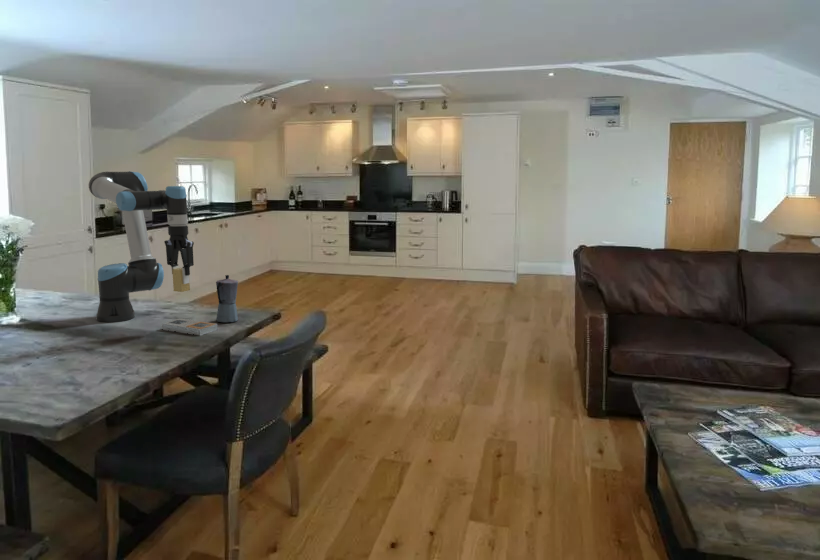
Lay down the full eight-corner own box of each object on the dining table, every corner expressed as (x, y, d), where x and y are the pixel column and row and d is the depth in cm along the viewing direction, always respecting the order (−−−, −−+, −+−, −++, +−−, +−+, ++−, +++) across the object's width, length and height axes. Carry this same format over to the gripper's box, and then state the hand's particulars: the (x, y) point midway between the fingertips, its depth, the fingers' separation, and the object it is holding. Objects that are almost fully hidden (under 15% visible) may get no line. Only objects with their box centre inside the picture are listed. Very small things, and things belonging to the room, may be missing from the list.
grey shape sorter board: (162, 329, 254) (161, 323, 254) (180, 324, 263) (180, 317, 263) (200, 335, 246) (199, 328, 245) (217, 329, 255) (217, 323, 254)
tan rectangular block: (173, 291, 252) (172, 269, 250) (181, 289, 255) (180, 267, 254) (181, 292, 250) (180, 269, 248) (189, 290, 254) (188, 268, 252)
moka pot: (244, 317, 276) (243, 272, 272) (231, 326, 261) (229, 279, 257) (223, 316, 277) (221, 272, 273) (209, 325, 262) (207, 278, 258)
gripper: (154, 225, 248) (158, 282, 252) (187, 226, 241) (191, 286, 245) (168, 223, 255) (172, 280, 259) (201, 225, 248) (204, 283, 252)
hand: (181, 282), depth 252 cm, fingers closed on tan rectangular block, 4 cm apart
